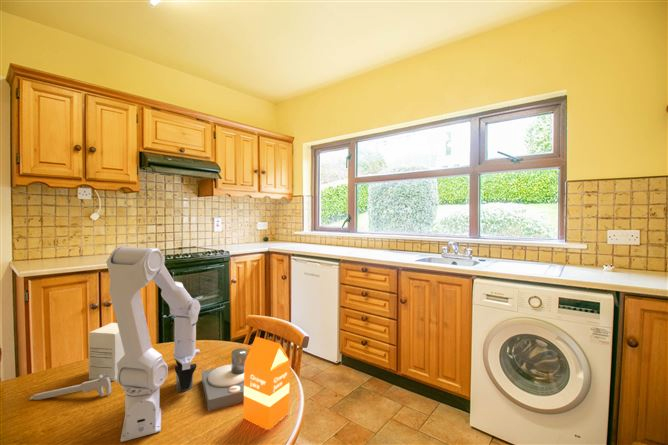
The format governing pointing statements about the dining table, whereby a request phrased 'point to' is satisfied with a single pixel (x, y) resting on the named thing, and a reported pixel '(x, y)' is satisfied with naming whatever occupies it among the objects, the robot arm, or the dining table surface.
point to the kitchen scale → (222, 387)
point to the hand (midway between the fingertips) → (184, 382)
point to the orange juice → (266, 383)
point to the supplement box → (105, 352)
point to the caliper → (79, 388)
